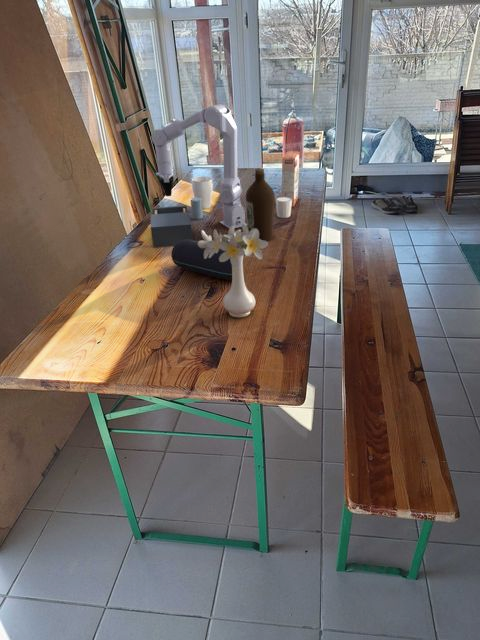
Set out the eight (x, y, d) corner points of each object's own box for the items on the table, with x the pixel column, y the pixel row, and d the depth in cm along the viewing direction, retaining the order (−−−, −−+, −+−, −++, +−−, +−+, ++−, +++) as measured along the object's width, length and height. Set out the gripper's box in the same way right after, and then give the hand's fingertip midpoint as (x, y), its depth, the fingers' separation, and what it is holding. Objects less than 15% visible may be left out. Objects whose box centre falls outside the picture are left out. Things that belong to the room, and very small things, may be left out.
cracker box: (294, 208, 218) (295, 158, 206) (280, 207, 219) (281, 157, 207) (298, 198, 229) (300, 151, 218) (286, 197, 230) (286, 150, 219)
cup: (213, 209, 218) (211, 181, 211) (192, 209, 218) (189, 182, 211) (215, 203, 225) (213, 176, 219) (195, 203, 225) (192, 176, 219)
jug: (191, 215, 211) (190, 197, 207) (202, 215, 212) (200, 196, 208) (192, 220, 206) (190, 201, 202) (203, 219, 207) (201, 200, 203)
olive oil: (269, 230, 195) (269, 164, 181) (278, 240, 186) (278, 171, 173) (243, 234, 192) (241, 167, 179) (251, 243, 184) (249, 174, 170)
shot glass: (292, 213, 212) (292, 196, 208) (291, 218, 207) (291, 201, 203) (276, 212, 213) (276, 196, 209) (274, 218, 207) (274, 201, 203)
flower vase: (211, 300, 147) (204, 217, 133) (272, 304, 144) (272, 220, 131) (199, 322, 137) (190, 235, 123) (265, 327, 134) (263, 238, 120)
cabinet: (153, 233, 194) (150, 214, 190) (190, 230, 196) (189, 211, 192) (153, 247, 182) (150, 227, 178) (193, 244, 184) (191, 224, 180)
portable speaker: (249, 275, 161) (249, 246, 155) (233, 287, 154) (231, 257, 148) (188, 260, 172) (185, 233, 166) (170, 271, 165) (166, 242, 159)
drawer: (154, 220, 204) (152, 206, 201) (187, 218, 206) (186, 204, 203) (154, 233, 192) (152, 218, 189) (189, 230, 194) (188, 216, 191)
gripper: (154, 157, 202) (158, 191, 210) (154, 166, 190) (158, 201, 198) (171, 156, 203) (175, 190, 211) (172, 165, 191) (176, 200, 199)
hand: (168, 195), depth 204 cm, fingers closed
